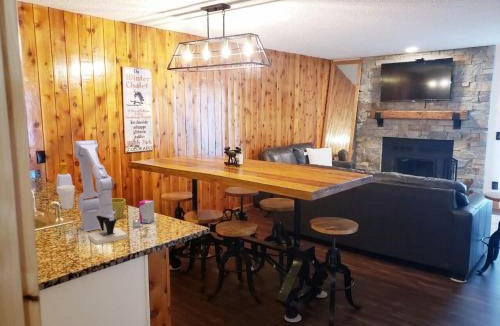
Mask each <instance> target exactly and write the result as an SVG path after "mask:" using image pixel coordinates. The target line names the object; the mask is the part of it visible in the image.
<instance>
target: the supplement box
mask: <svg viewBox="0 0 500 326" xmlns="http://www.w3.org/2000/svg"><path fill="white" fill-rule="evenodd" d="M138 210H139V211H138V213H139V214H138V216H139V217H138V219H140V224H144V225H146V224H147V225H150V224H152V223H154V222H155V201H154V200H153V199H152V200H151V199H144V200H141V201H139V202H138Z"/></svg>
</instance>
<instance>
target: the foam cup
mask: <svg viewBox="0 0 500 326" xmlns="http://www.w3.org/2000/svg"><path fill="white" fill-rule="evenodd" d="M56 191H58V194H57V195H58V200H59V203H60V207H61V209H62V210H70V209H71V210H72V209H73V208H74V202H75V191H76V186H75V185H64V186H59V187H57V186H56Z"/></svg>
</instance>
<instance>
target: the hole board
mask: <svg viewBox="0 0 500 326" xmlns="http://www.w3.org/2000/svg"><path fill="white" fill-rule="evenodd" d="M87 238H88V240H90V241H91V242H93V243H94V244H95V245H101V244H107V243H111V242H115V241H121V240H125V239H128V233H127V232H125V231H124V230H122V229H120V228H118V227H114V230H113V234H112V235H108V236H104V231H102V230H99V231H93V232H88V233H87Z"/></svg>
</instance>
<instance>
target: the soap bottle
mask: <svg viewBox="0 0 500 326" xmlns="http://www.w3.org/2000/svg"><path fill="white" fill-rule="evenodd" d="M58 165H59V166H60V168H61V169H60V170H59V173H58V174H57V175H56V188H57V187H59V186H64V185H73V180H72V179H73V178H72V175H71V173H68V169H66V167H67V165H68V163H67V162H59V164H58ZM55 191H56V194H57V195H58V191H57V190H55Z"/></svg>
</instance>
